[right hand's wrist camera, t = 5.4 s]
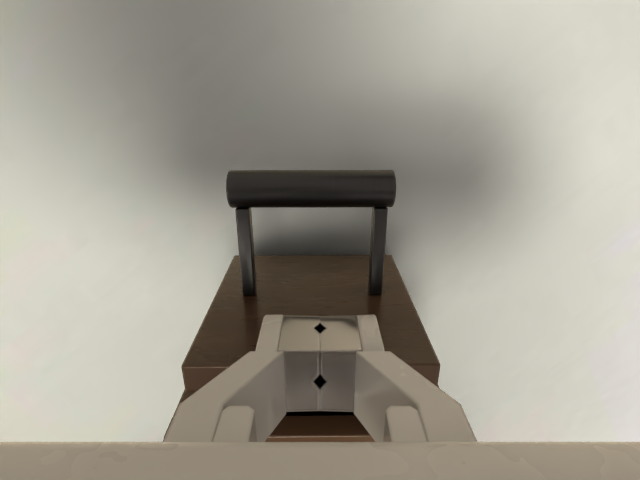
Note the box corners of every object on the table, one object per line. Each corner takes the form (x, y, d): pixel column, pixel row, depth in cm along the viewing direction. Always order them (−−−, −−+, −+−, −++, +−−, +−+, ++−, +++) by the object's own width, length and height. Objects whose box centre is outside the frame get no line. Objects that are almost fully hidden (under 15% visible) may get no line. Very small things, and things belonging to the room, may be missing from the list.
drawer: (224, 153, 20) (153, 206, 11) (399, 153, 20) (464, 205, 11) (253, 469, 29) (226, 638, 20) (375, 468, 29) (401, 636, 20)
